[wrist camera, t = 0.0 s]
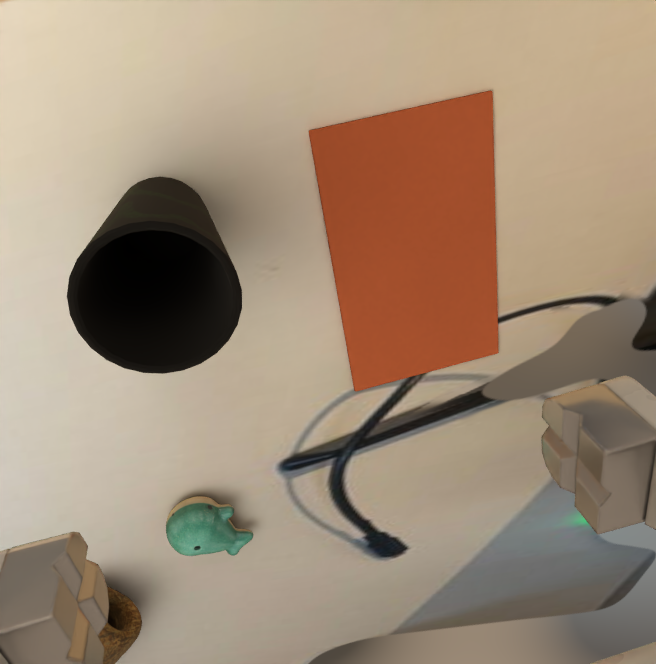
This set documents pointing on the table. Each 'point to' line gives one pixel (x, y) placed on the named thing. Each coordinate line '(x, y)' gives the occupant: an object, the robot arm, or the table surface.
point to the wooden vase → (119, 626)
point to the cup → (156, 282)
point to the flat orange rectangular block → (412, 236)
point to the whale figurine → (204, 528)
